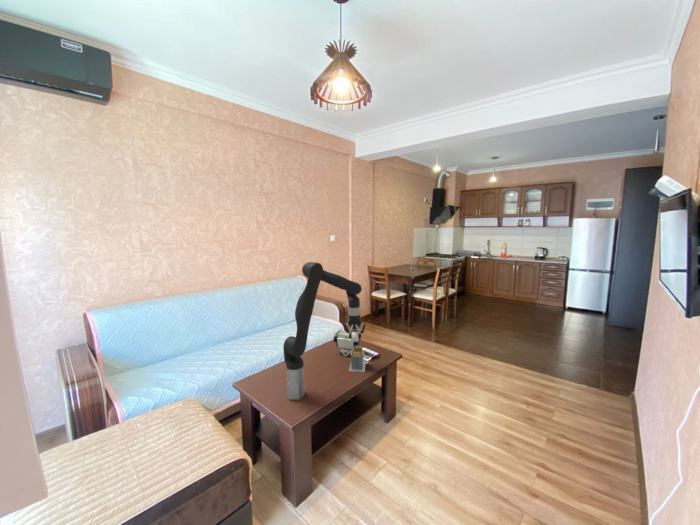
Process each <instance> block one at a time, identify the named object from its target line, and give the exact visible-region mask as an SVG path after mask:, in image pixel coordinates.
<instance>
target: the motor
mask: <svg viewBox="0 0 700 525" xmlns="http://www.w3.org/2000/svg"><path fill="white" fill-rule="evenodd" d="M353 349H354V351H353V350H352V351H351V355H350V356H351V360H350V363H349V368H348V372H357V373H365V371H366V364H367V361H364V354H365V351H364V350H362V349H363V347H362V346H356V347H354V348H353Z"/></svg>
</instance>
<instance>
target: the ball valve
mask: <svg viewBox="0 0 700 525" xmlns="http://www.w3.org/2000/svg"><path fill="white" fill-rule="evenodd" d="M361 342H362V341H361V339H359V341H357V342H353V341H351V339H350V338H349V333H346V330H342V329H339V330H338V331H337V332H336V333H334V336H333V343H335V345H336V348H337V347H339V348H340V354H342V355H343V356H344V357H348V356H351V351H352V350H353V351H354V347H358V346H360V345H361Z"/></svg>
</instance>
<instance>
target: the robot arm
mask: <svg viewBox="0 0 700 525" xmlns="http://www.w3.org/2000/svg"><path fill="white" fill-rule="evenodd" d="M301 272H302V275H303V276H304V277H305V278H307V281H306V284H305V288H304V289H303V291H302V292H301V294H300V296H299V297H298V300H297V303H296V307H295V312H294V316H295V323H296V334H295V336H293V335H292V336H291V335H290V336H288V337H287V338H285V340H284V343H283V357H284V358H283V359H284V363H285V366H286V385H287V399H288V400H290V401H291V400H293V401H300V400H301V399H303V397H305V371H304V367H305V366H304V364H305V363H304V360H303V358H302V357H301V356H303V354H304V353H305V352H306V348H307V342H308V335H309V328H310V323H311V320H312V315H313V311H314V305H315V302H316V297H317V293H318V289H319V286H320V284H321V282H324V283H327V284H329V285H330V286H332V287H335V288H338V289H340V290H344V291H345V294H346V297H347V301H348V310H347V311H348V322H344V324H343V326H344V331H346V333H349V338H350V339H351V331H352V330H353V329H357V330H358V332H359V339H361V338H362V334H364V332H365V328H366V323H365V322H364V323H362V320H361V312H362V311H361V304H360V303H361V302H360V301H361V300H360V298H359V296H358V295H359V294H361V292H362V290H363V288H362V285H361V284H360V283H358V282H355V281H352V280H350V279H348V278H346V277H344V276H342V275H339V274H336V273H333V272H329V271H327V270H325V269H324V267H323V265H322V264H321V263H320V262H314V261H308V262H306V263H304V264H303V266H302V269H301ZM348 326H349V327H350V329H349V327H348ZM360 327H361V328H362V329H361V328H360Z"/></svg>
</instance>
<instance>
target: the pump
mask: <svg viewBox="0 0 700 525" xmlns="http://www.w3.org/2000/svg"><path fill="white" fill-rule="evenodd" d="M351 341H353V342H357V341H359V332H358V330H357V329H352V331H351Z"/></svg>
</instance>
